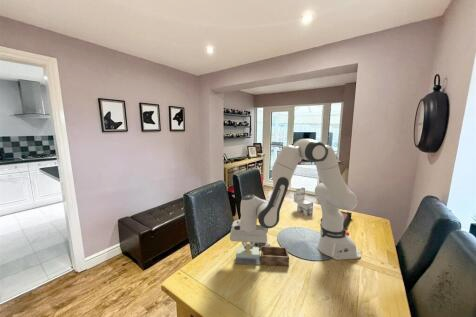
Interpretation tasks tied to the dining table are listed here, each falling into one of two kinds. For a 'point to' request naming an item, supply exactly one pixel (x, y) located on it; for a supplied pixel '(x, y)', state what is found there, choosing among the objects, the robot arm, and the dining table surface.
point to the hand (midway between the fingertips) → (248, 248)
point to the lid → (248, 250)
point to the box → (274, 256)
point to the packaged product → (259, 244)
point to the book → (346, 218)
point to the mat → (248, 259)
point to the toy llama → (303, 202)
